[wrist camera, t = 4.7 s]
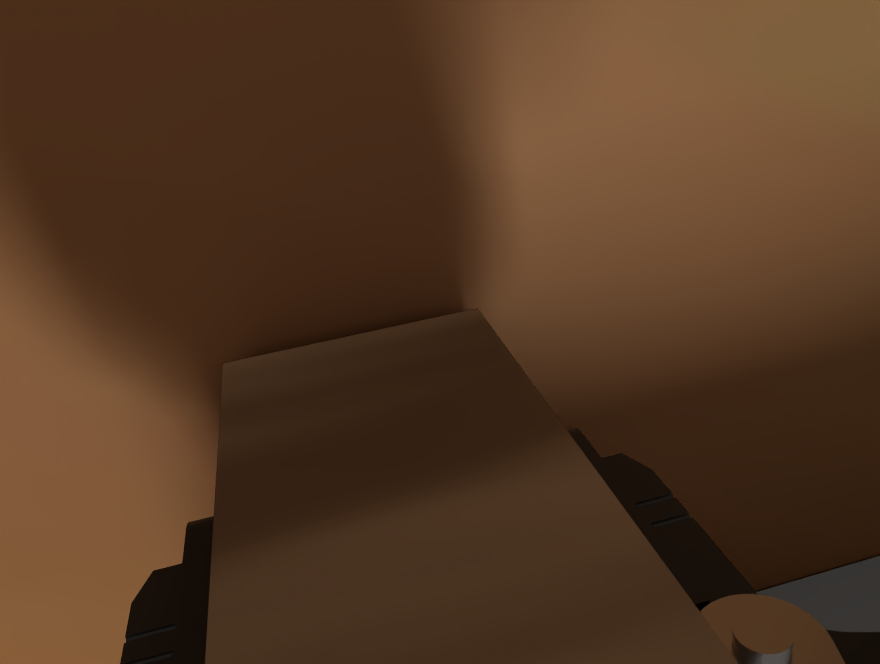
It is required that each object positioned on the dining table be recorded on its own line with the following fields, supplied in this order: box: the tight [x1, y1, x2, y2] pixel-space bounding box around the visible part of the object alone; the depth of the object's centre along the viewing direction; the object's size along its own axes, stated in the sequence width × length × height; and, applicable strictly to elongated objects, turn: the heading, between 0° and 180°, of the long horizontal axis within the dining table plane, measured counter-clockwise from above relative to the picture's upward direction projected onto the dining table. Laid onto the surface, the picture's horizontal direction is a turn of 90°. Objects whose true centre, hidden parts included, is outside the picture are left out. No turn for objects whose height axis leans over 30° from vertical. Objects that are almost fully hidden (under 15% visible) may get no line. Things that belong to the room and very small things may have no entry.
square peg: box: [205, 308, 738, 664], centre depth 9 cm, size 4×4×9 cm
